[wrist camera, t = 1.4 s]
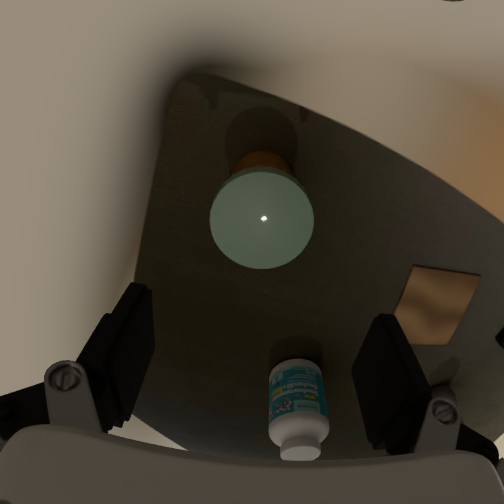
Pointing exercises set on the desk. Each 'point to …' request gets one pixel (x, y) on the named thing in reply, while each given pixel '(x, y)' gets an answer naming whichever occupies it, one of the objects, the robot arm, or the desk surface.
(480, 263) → the desk surface
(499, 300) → the desk surface
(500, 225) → the desk surface
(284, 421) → the pill bottle
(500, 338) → the vhs tape
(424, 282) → the coaster
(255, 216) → the jam lid
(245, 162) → the jam jar
